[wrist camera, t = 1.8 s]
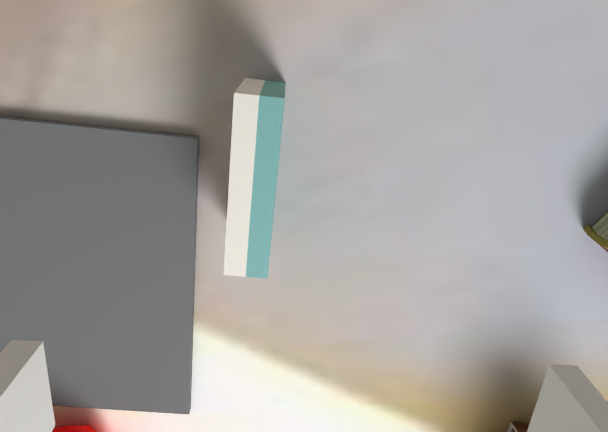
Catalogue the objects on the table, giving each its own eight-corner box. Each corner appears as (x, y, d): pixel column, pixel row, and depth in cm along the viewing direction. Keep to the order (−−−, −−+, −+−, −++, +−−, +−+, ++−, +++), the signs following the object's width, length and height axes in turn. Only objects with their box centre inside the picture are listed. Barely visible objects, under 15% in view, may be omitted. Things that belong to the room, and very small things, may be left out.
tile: (245, 77, 26) (233, 92, 21) (285, 82, 27) (284, 98, 21) (235, 227, 30) (223, 274, 24) (271, 230, 30) (267, 278, 24)
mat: (-58, 110, 26) (-65, 111, 26) (199, 136, 27) (197, 138, 27) (-10, 395, 34) (-16, 401, 33) (190, 408, 35) (189, 414, 34)
